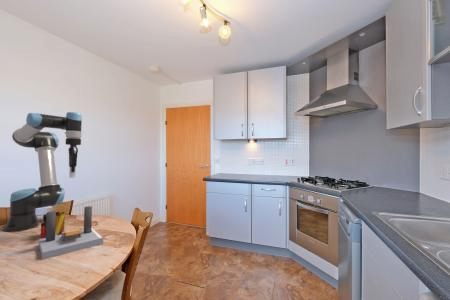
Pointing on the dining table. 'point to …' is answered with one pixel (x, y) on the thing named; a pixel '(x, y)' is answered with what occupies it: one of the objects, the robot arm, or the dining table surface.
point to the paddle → (72, 232)
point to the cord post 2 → (87, 219)
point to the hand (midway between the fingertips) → (72, 177)
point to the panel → (69, 243)
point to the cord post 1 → (50, 226)
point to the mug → (58, 225)
